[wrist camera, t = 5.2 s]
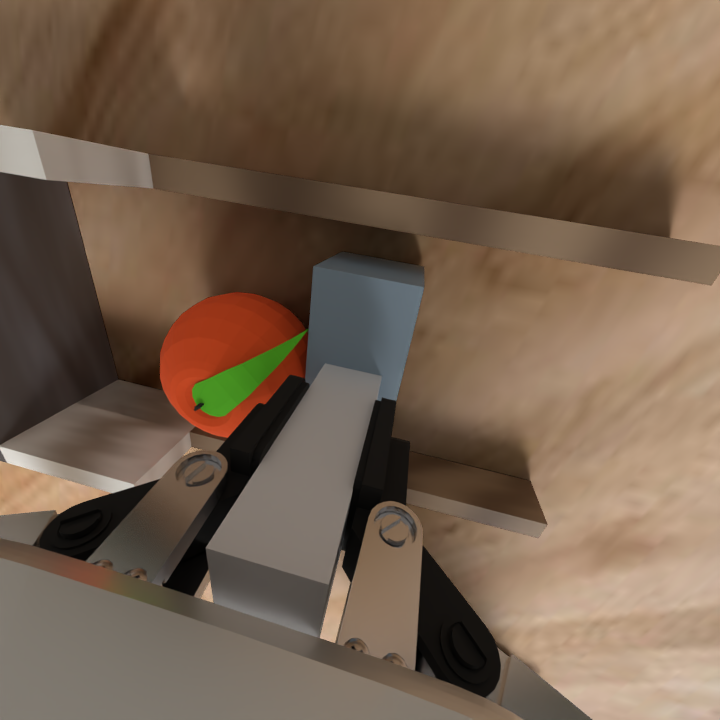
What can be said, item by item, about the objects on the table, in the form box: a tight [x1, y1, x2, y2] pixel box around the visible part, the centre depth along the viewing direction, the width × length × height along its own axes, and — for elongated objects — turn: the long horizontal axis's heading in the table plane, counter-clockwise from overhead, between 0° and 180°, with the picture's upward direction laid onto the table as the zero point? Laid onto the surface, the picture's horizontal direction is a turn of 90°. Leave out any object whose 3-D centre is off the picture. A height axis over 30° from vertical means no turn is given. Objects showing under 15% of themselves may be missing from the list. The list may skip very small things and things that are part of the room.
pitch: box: [0, 125, 720, 538], centre depth 14 cm, size 30×15×7 cm, turn 82°
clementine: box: [160, 292, 308, 438], centre depth 15 cm, size 8×7×7 cm
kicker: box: [206, 251, 424, 638], centre depth 12 cm, size 4×10×12 cm, turn 172°
